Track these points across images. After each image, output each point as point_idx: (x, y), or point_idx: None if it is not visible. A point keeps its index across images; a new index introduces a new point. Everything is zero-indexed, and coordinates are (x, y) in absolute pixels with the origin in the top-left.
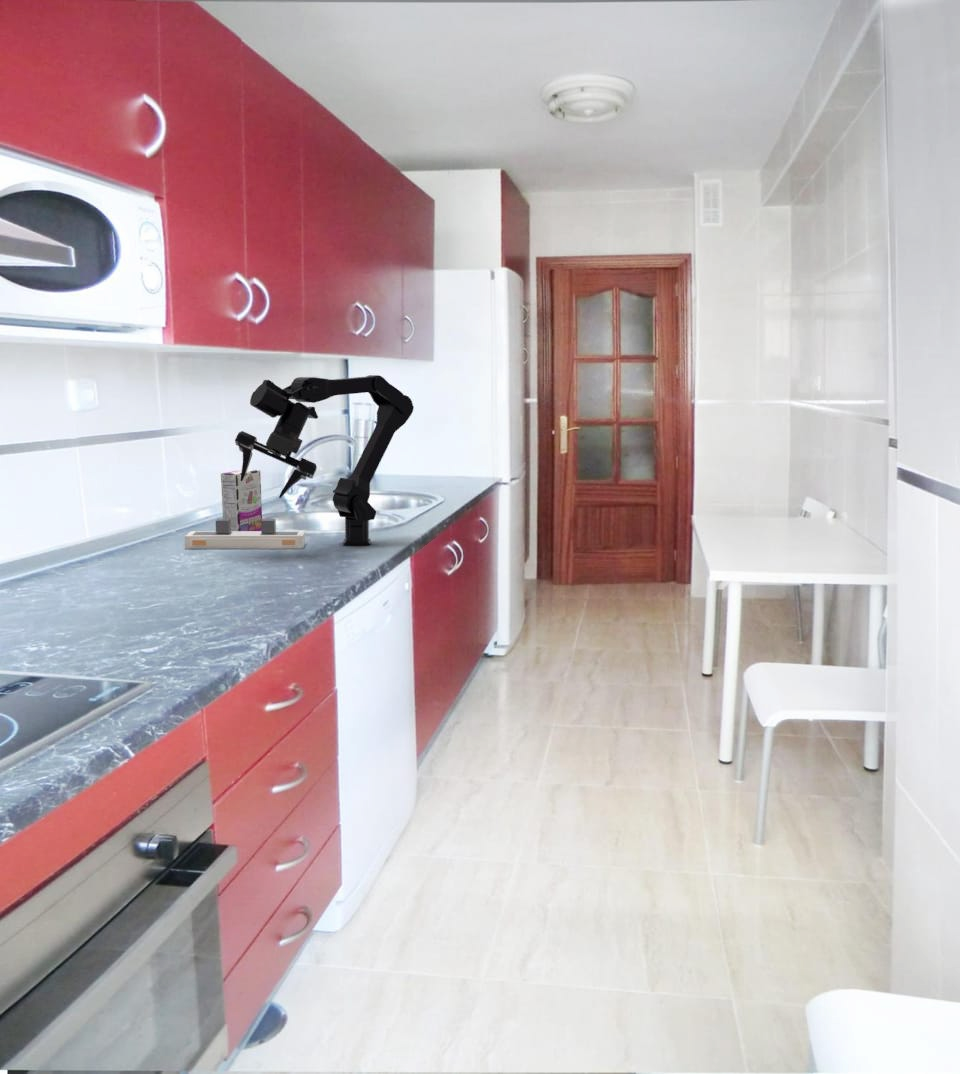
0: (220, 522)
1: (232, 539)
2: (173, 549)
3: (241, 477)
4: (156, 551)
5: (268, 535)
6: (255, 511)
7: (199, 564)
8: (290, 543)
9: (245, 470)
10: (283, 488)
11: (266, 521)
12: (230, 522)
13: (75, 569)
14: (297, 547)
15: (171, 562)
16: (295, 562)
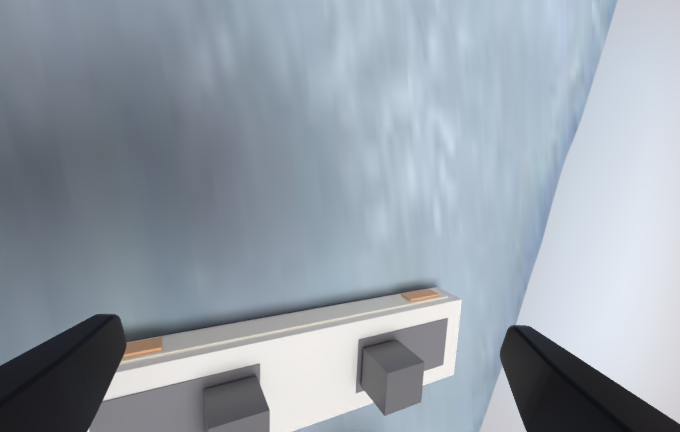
0: (407, 362)
1: (343, 315)
2: (456, 277)
3: (545, 337)
4: (483, 249)
5: (225, 361)
6: None
7: (390, 61)
8: None
9: (608, 406)
10: (22, 388)
11: (245, 415)
12: (378, 401)
13: (580, 54)
14: None
15: (450, 104)
16: (38, 24)
